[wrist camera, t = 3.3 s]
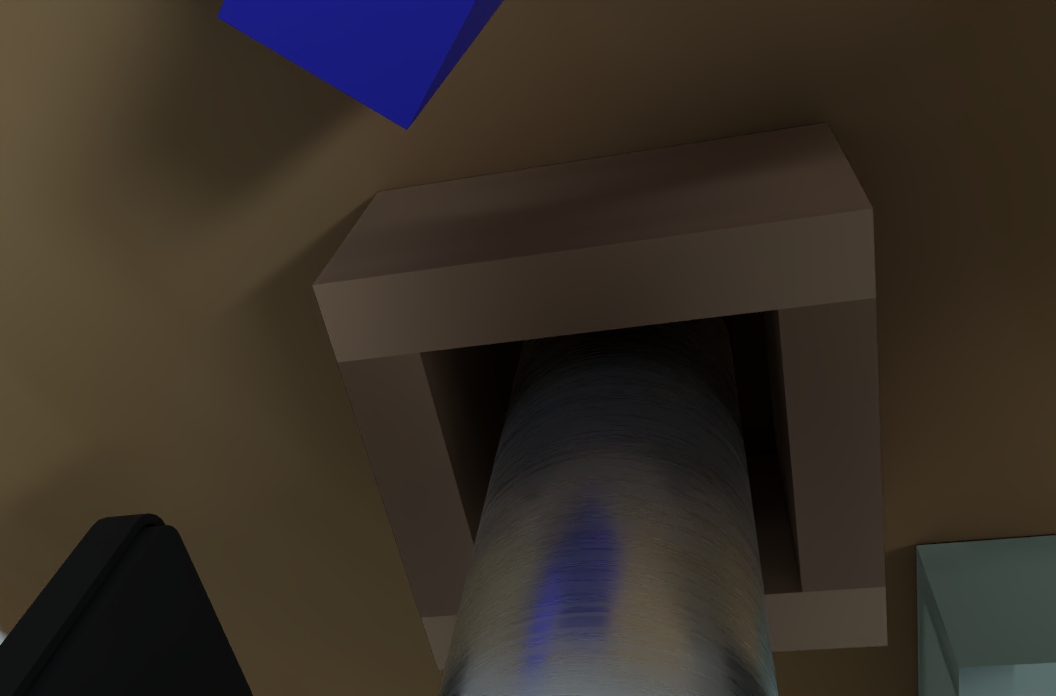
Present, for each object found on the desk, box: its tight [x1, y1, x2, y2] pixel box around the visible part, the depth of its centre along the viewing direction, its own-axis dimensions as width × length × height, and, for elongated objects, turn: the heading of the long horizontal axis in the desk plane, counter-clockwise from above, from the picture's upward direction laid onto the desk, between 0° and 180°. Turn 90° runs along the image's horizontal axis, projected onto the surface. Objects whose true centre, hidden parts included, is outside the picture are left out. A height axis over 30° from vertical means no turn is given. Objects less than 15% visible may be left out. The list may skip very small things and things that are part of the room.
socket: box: [312, 123, 888, 671], centre depth 13 cm, size 6×6×3 cm
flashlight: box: [438, 316, 778, 696], centre depth 10 cm, size 4×4×11 cm
